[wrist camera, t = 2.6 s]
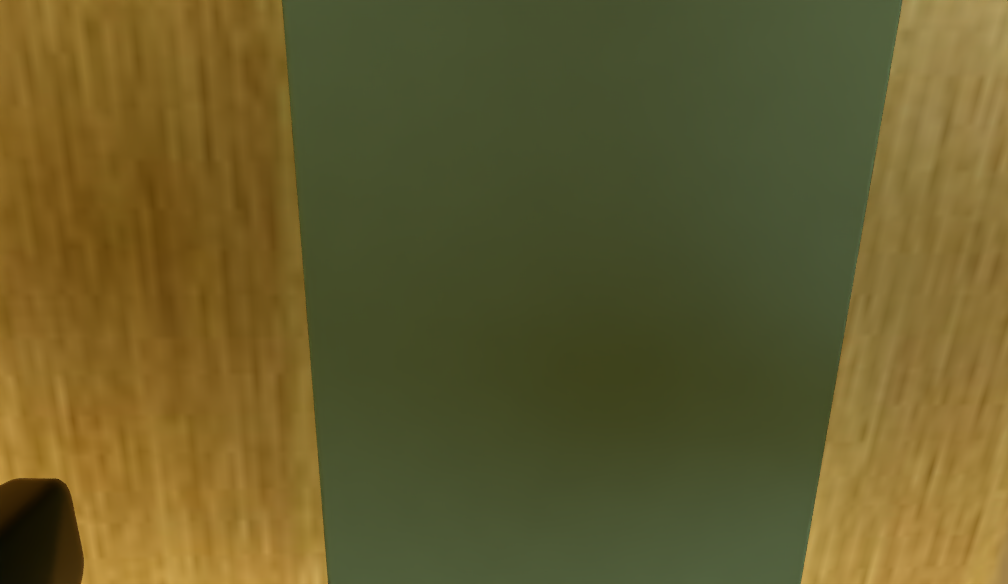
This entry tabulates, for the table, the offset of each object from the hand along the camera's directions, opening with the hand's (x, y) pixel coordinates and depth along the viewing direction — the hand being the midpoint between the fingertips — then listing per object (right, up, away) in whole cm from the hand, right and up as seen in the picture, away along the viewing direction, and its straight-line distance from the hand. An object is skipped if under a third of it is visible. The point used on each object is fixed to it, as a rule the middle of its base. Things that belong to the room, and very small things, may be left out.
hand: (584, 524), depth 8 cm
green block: (0, +2, +4) cm, 5 cm away
